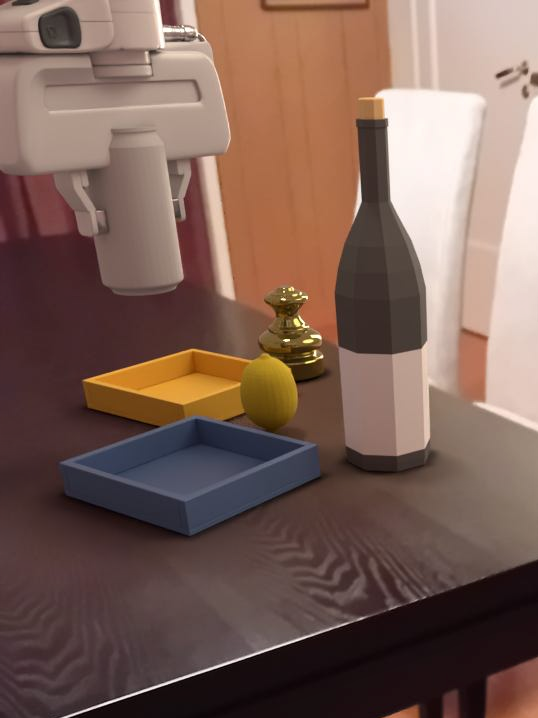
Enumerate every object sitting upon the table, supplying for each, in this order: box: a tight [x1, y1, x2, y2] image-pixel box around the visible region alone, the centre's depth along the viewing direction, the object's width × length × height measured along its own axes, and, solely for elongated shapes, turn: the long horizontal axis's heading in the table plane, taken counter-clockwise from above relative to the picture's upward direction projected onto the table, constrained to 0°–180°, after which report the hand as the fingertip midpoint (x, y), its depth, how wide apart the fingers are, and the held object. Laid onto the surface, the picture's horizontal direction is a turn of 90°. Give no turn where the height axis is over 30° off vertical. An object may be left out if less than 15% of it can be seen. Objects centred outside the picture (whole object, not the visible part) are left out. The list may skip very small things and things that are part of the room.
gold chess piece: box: [257, 284, 325, 382], centre depth 117 cm, size 7×7×10 cm
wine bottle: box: [334, 97, 431, 473], centre depth 88 cm, size 8×8×30 cm
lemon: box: [240, 353, 299, 434], centre depth 99 cm, size 6×6×8 cm
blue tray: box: [58, 415, 321, 537], centre depth 89 cm, size 16×16×3 cm
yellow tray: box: [81, 348, 291, 428], centre depth 110 cm, size 16×16×3 cm
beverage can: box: [83, 126, 185, 297], centre depth 79 cm, size 6×6×12 cm
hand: (134, 228), depth 80 cm, fingers closed on beverage can, 6 cm apart
